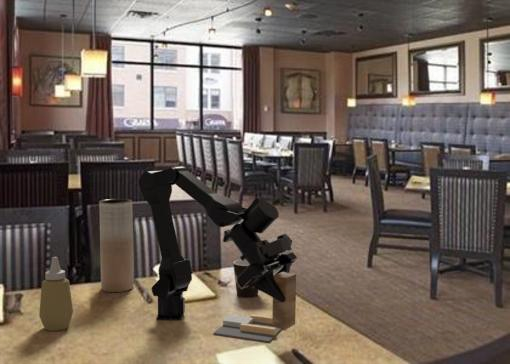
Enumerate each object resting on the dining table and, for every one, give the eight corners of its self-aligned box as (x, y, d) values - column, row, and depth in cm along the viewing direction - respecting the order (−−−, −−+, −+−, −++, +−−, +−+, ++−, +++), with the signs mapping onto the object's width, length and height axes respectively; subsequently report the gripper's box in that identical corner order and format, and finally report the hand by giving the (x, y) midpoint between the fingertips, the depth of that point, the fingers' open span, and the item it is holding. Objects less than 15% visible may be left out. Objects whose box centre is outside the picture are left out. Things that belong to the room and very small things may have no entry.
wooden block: (272, 326, 128) (273, 275, 127) (282, 321, 132) (283, 271, 131) (285, 329, 126) (286, 278, 125) (295, 324, 130) (296, 273, 129)
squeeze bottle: (80, 324, 143) (78, 255, 141) (59, 335, 135) (57, 262, 133) (54, 320, 145) (52, 252, 144) (32, 330, 138) (30, 259, 136)
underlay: (213, 334, 136) (213, 326, 136) (232, 318, 148) (233, 311, 147) (269, 342, 131) (269, 334, 131) (285, 325, 142) (285, 318, 142)
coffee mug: (258, 299, 164) (258, 266, 163) (230, 297, 166) (230, 264, 165) (265, 288, 175) (265, 257, 174) (239, 287, 177) (239, 256, 176)
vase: (95, 292, 171) (94, 202, 168) (108, 283, 181) (107, 198, 178) (126, 293, 170) (125, 203, 167) (138, 284, 179) (136, 199, 177)
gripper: (248, 230, 121) (291, 288, 116) (291, 218, 137) (330, 269, 132) (219, 260, 126) (259, 317, 121) (263, 246, 142) (300, 296, 137)
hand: (289, 298), depth 128 cm, fingers closed on wooden block, 4 cm apart
